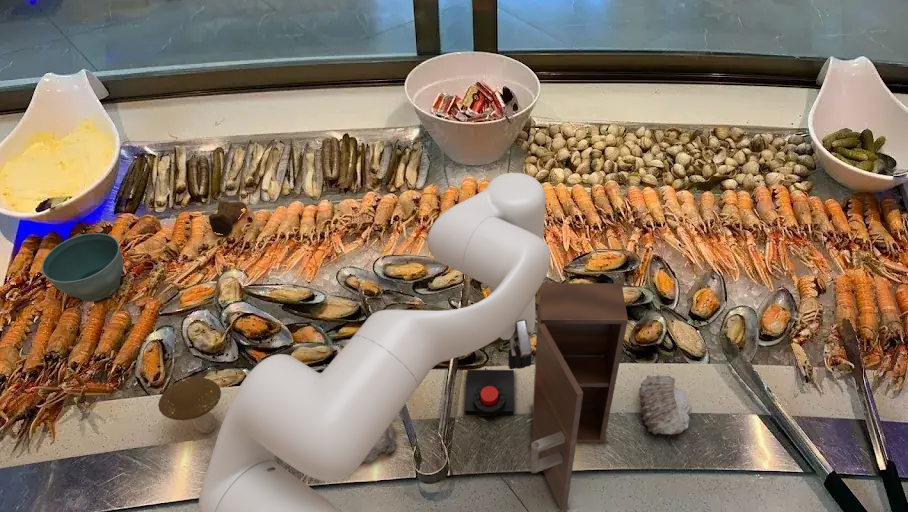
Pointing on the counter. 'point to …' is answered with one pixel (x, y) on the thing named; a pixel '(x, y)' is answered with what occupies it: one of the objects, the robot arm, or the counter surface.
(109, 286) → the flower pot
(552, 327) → the cupboard
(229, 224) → the sculpture
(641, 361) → the counter surface
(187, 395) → the mushroom
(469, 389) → the control box
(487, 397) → the button
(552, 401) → the door
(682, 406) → the seashell
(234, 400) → the robot arm
